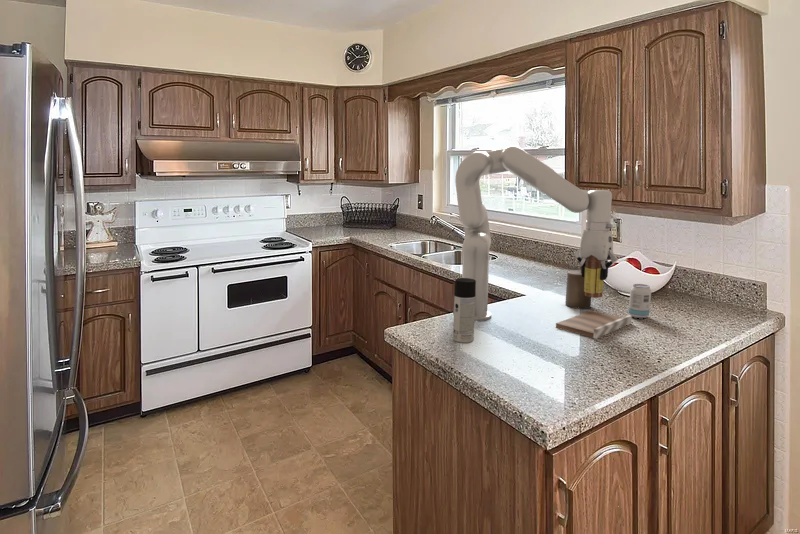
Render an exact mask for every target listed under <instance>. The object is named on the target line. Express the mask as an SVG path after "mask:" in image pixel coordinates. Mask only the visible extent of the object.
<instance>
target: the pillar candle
mask: <svg viewBox="0 0 800 534" xmlns="http://www.w3.org/2000/svg"><path fill="white" fill-rule="evenodd" d="M566 275H567V276H566V286H565V287H566V290H565V302H564V303H565V304H564V305H565V306H566V307H568V308H569V307H570V308H575V309H581V310H582V309H589V308H591V306H592V297H587V296H585V294H584V277H582V274H581V268H580V269H579V270H576V269H575V270H574V269H573V270H568V271H567V272H566Z"/></svg>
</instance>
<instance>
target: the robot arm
mask: <svg viewBox="0 0 800 534" xmlns="http://www.w3.org/2000/svg"><path fill="white" fill-rule="evenodd" d="M455 172H456V173H455V179H454V181H455V182H454V183H455V188H456V189H455V190H456V199H457V207H458V216H459V221H460V223H461V225H462V226H463V231H464V236H465V237H464V239H463V242H462V245H461V250H462V251H461V256H462V257H461V258H462V268H461V270H462V272H461V273H462V274H461V276H462V277H461V278H470V279H474V280H476V296H475V320H474V322H483V321H487V319H488V320H489V319H491V318H492V313H491V312H490V311H489V310H488V300H489V299H488V298H489V295H488V294H489V278H490V277H489V267H490V264H489V263H490V248H491V245H492V237H491V230H490V229H491V228H490V225H489V224H490V223H489V215H488V212H487V208H486V207H485V205H484V204H483V200H482V194H481V192H482V191H481V187H480V179H481V177H483V176H487V175H492V174H499V173H505V172H509V173H511V174H513V175H514V176H516V177H518V179H521V180H522V181H523V182H524V183H526V184H528V185H529V186H531V187H532V188H533V189H535V190H536V191H538V192H539V193H542V194H544V195H546V196H547V197H549V198H550V199H551V200H553V201H555V202H556V203H557V204H559V205H561V206H562V207H564V208H565V209H567V211H570V212H572V213H575V214H576V213H578V214H579V213H582V212H584V211H585V210H586V222H585V229H584V230H583V233H582V236H581V240H580V247H579V248H578V249H577V250H576V251H575V252H574V253H573V255H574V257H575V258H576V259H577V261H578V262H579V265H580V266H581V268H580V269H581V274H582V277H584V276H585V261H586V258H587V257H589V256H590V255H593V256H595V257H596V258H597V259H598V260H600V261H601V264H602V269H601V273H600V280H604V281H605V280H607V278H608V274H609V268H610V267H612V266H613V265H614V264H615V263H616V262H617V261H618V260H619V257H618V256H617V255H616V254H615V253H614V241H613V240H614V239H613V238H614V237H613V231H611V229H613V228H614V224H611V212H612V200H613V199H612V198H613V194H612V192H611V190H609V189H608V190H607V189H593V190H588V189H587V190H586V189H581V188H579V187H578V186H576V184H575V185H574V184H573V183H572V182H570V181H568V180H567V179H566V178H564V177H563V176H562V175H560V174H558V173H557V172H556V171H555V170H554V169H553V168H552V167H550V166H548V164H546V163H544V162H543V161H541V160H539V159H538V158H537V157H535V156H533V155H532V154H531V153H529V152H527V151H526V150H524V149H523V148H521V147H520V146H517V145H509V146H506V147H505V148H504V147H503V148H499V149H494V150H493V149H492V150H486V151H480V150H479V151H474V152H472V153H470V154H469V155H467V156H466V157H465V158H464V159H463V160H462V161H461V162H460V163H459V166H458V167H457V170H456V171H455ZM452 314H453V315H454V310H452Z"/></svg>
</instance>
